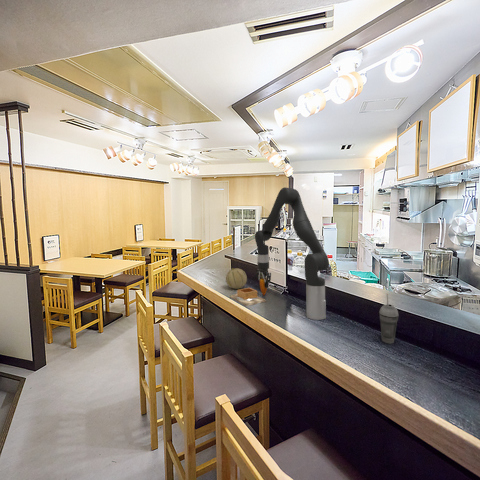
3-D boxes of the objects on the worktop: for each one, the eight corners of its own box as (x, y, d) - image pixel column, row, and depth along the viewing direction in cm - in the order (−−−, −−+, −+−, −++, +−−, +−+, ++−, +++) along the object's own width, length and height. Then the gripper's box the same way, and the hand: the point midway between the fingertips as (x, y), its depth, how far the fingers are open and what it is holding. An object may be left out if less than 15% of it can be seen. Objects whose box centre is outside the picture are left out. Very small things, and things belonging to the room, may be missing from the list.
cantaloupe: (250, 289, 196) (249, 268, 194) (230, 292, 190) (229, 271, 189) (242, 284, 209) (241, 265, 208) (223, 287, 204) (223, 267, 202)
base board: (248, 293, 187) (248, 291, 187) (265, 301, 170) (265, 299, 170) (230, 297, 180) (230, 295, 180) (246, 306, 163) (246, 304, 163)
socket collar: (250, 293, 184) (250, 286, 183) (261, 298, 172) (261, 291, 172) (233, 296, 177) (233, 289, 177) (243, 302, 166) (243, 294, 165)
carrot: (267, 294, 184) (266, 272, 182) (268, 296, 179) (267, 273, 178) (259, 294, 184) (259, 272, 182) (260, 296, 179) (260, 274, 177)
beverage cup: (387, 346, 112) (389, 298, 110) (374, 338, 119) (375, 292, 117) (402, 343, 114) (403, 296, 112) (388, 335, 121) (389, 291, 119)
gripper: (274, 262, 175) (275, 288, 177) (261, 258, 187) (262, 283, 189) (264, 263, 171) (265, 290, 173) (252, 260, 183) (252, 285, 185)
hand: (263, 286), depth 181 cm, fingers open, 5 cm apart
